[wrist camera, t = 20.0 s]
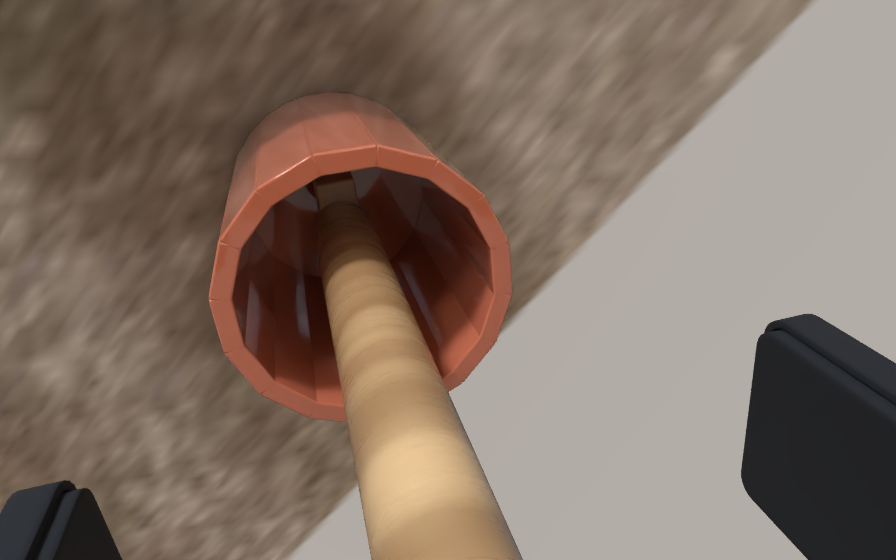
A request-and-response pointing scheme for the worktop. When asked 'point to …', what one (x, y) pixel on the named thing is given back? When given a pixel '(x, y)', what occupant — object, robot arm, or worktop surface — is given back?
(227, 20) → the worktop surface
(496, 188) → the worktop surface
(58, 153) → the worktop surface
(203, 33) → the worktop surface
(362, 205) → the crock
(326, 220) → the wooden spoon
